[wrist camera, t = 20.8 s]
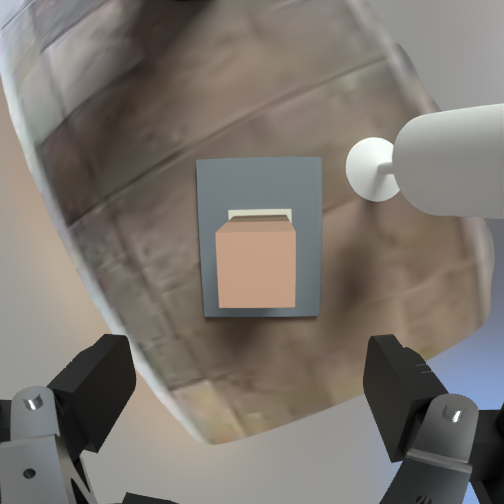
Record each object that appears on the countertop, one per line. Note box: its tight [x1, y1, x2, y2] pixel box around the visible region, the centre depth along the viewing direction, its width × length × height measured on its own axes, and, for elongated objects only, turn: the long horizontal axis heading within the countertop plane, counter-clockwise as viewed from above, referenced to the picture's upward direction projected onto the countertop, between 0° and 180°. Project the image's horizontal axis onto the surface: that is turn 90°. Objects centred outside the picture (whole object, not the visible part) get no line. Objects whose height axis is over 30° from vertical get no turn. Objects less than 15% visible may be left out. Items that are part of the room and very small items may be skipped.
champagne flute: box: [346, 104, 504, 219], centre depth 19 cm, size 7×7×24 cm
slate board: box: [196, 157, 322, 317], centre depth 32 cm, size 16×12×1 cm
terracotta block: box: [215, 221, 296, 308], centre depth 24 cm, size 5×5×6 cm
